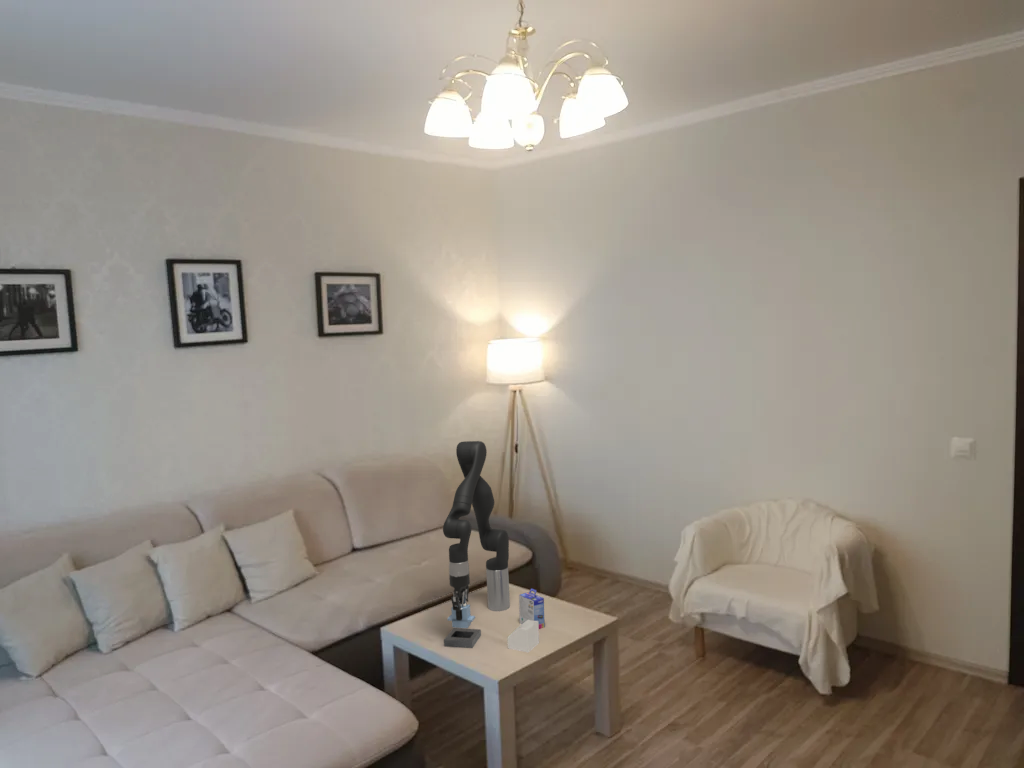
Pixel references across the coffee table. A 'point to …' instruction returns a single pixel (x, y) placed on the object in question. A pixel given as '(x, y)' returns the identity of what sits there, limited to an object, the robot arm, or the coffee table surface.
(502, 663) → the coffee table surface
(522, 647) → the white sloped wedge
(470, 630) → the tray
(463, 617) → the servo
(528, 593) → the ink cartridge box
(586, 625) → the coffee table surface
